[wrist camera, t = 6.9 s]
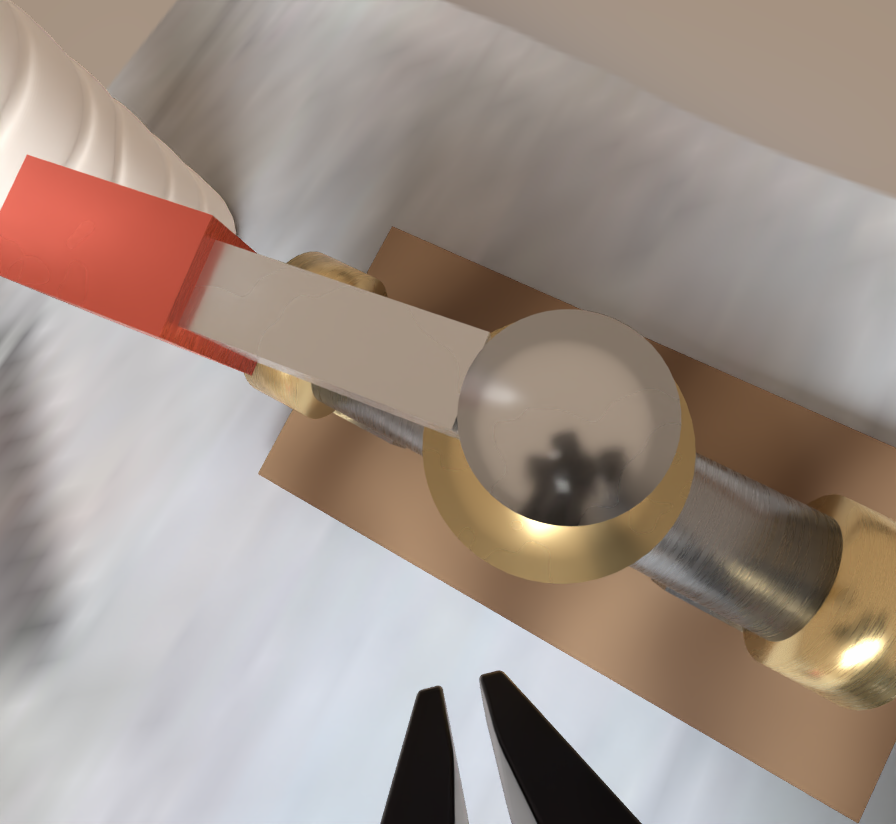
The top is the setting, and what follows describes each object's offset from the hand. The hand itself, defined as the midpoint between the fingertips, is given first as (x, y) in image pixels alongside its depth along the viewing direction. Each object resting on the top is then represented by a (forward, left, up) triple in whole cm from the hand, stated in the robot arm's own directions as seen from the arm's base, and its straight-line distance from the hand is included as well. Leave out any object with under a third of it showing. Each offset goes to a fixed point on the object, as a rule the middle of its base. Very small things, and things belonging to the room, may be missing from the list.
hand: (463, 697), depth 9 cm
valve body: (+1, -5, -10) cm, 11 cm away
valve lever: (+5, -4, -1) cm, 7 cm away
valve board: (-1, -5, -11) cm, 12 cm away
